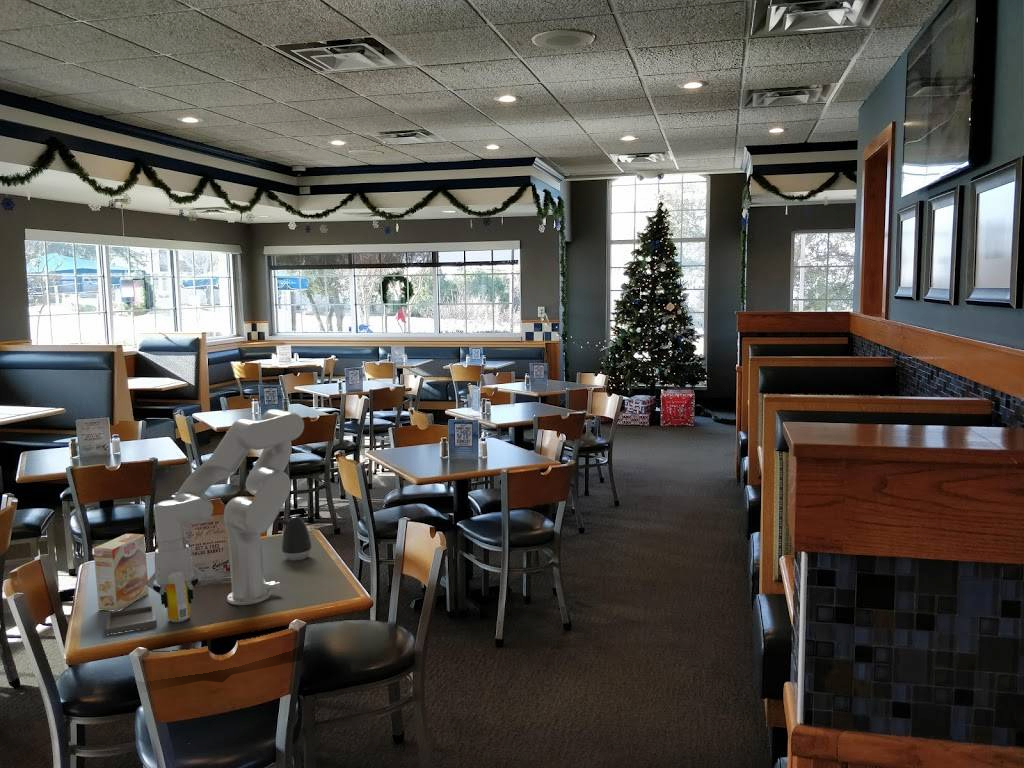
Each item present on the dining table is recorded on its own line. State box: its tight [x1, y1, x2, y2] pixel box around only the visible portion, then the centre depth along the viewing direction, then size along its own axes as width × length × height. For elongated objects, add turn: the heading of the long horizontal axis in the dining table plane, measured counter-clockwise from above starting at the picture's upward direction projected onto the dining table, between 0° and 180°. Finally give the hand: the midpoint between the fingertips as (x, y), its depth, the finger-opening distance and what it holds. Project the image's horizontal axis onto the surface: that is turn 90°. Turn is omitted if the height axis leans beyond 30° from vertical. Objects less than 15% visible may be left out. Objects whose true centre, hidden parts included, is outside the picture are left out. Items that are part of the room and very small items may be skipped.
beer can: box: [165, 571, 192, 623], centre depth 246 cm, size 6×6×15 cm
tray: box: [105, 604, 158, 635], centre depth 245 cm, size 13×13×2 cm
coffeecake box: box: [93, 533, 150, 611], centre depth 260 cm, size 15×7×20 cm, turn 167°
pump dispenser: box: [278, 515, 313, 562], centre depth 297 cm, size 10×10×15 cm
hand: (177, 603), depth 246 cm, fingers closed on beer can, 5 cm apart
